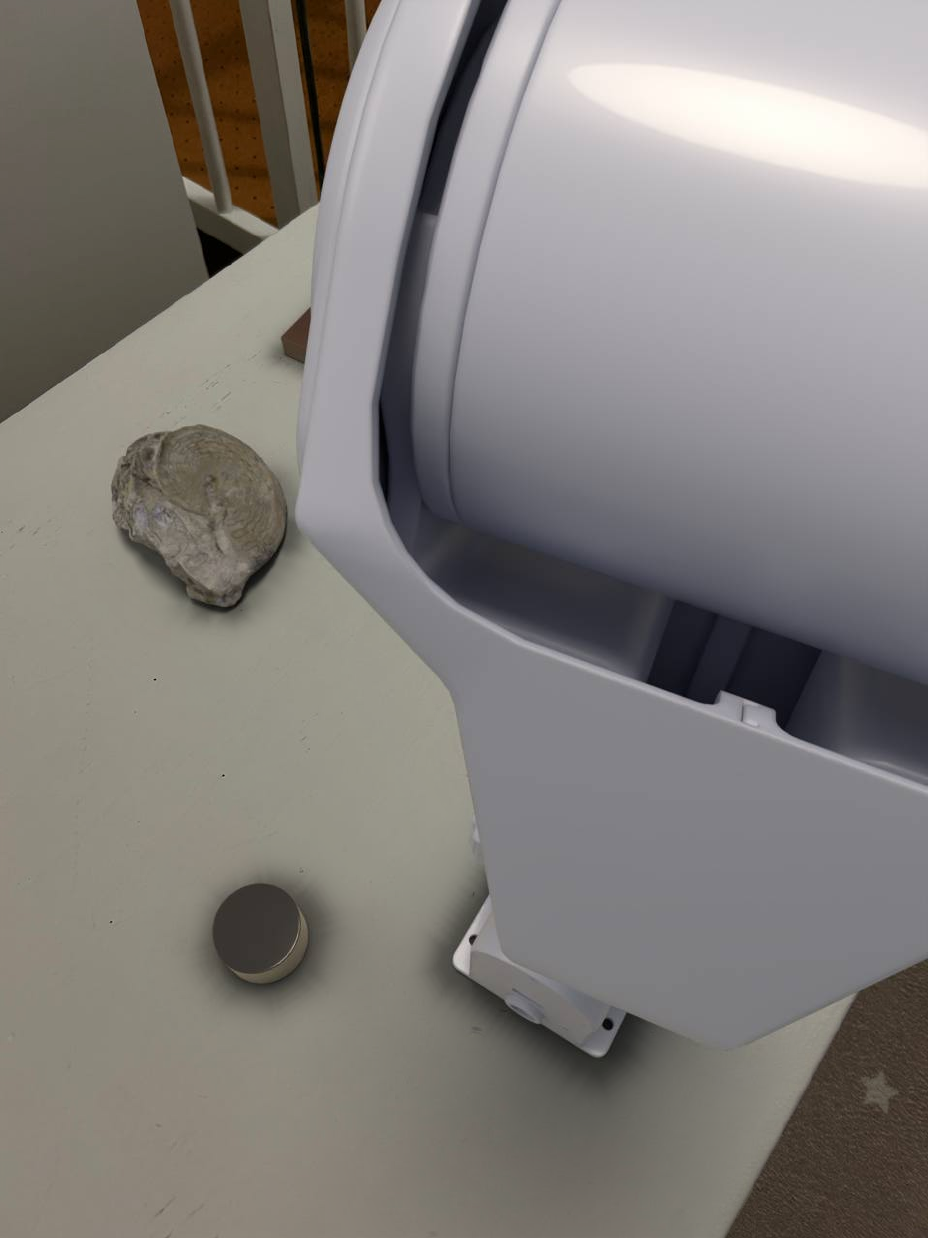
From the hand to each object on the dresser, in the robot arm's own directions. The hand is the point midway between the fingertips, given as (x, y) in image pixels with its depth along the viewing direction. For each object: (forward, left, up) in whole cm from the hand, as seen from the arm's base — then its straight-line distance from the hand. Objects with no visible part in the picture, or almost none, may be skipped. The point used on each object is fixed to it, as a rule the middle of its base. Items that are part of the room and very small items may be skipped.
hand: (729, 494), depth 47 cm
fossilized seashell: (-11, +27, -10) cm, 31 cm away
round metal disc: (-28, +9, -10) cm, 31 cm away
